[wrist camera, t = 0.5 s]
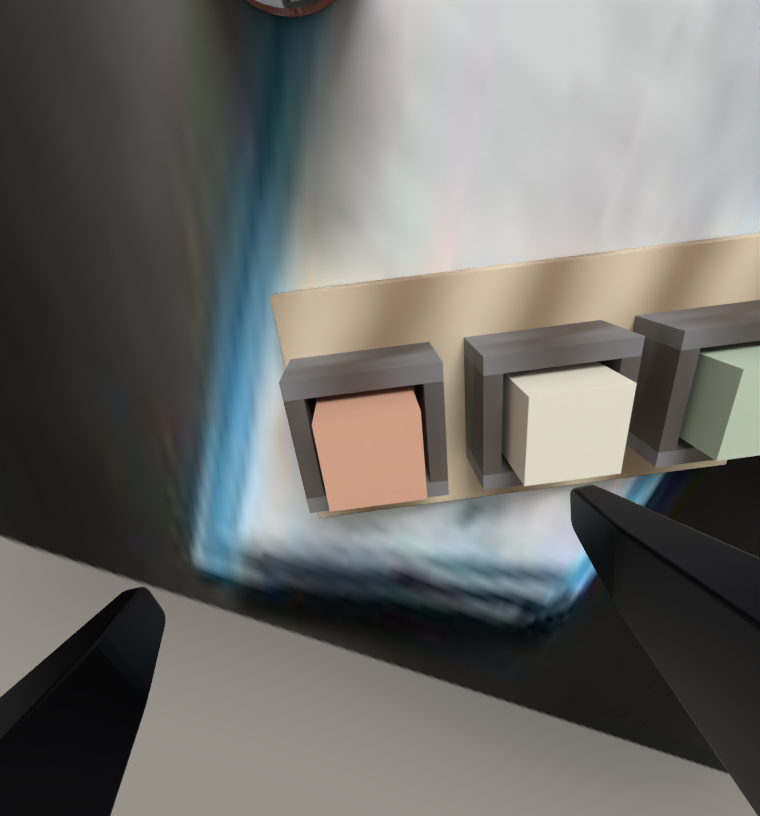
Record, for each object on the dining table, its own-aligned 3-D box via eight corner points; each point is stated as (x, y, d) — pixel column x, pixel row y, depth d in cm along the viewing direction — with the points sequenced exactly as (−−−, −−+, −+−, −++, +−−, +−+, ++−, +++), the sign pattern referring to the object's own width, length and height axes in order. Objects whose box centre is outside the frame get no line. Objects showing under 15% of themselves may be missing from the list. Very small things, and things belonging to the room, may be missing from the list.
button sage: (775, 336, 17) (850, 355, 14) (749, 418, 19) (812, 448, 16) (685, 348, 17) (743, 369, 14) (666, 429, 19) (716, 461, 16)
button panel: (771, 231, 18) (882, 232, 14) (708, 453, 23) (778, 497, 19) (274, 293, 18) (253, 311, 14) (320, 504, 23) (314, 559, 19)
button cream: (593, 359, 17) (636, 382, 14) (584, 440, 19) (620, 473, 16) (502, 371, 17) (529, 397, 14) (500, 451, 19) (524, 486, 16)
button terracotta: (410, 383, 17) (420, 411, 14) (417, 461, 19) (427, 498, 16) (318, 395, 17) (311, 425, 14) (332, 472, 18) (330, 511, 16)
